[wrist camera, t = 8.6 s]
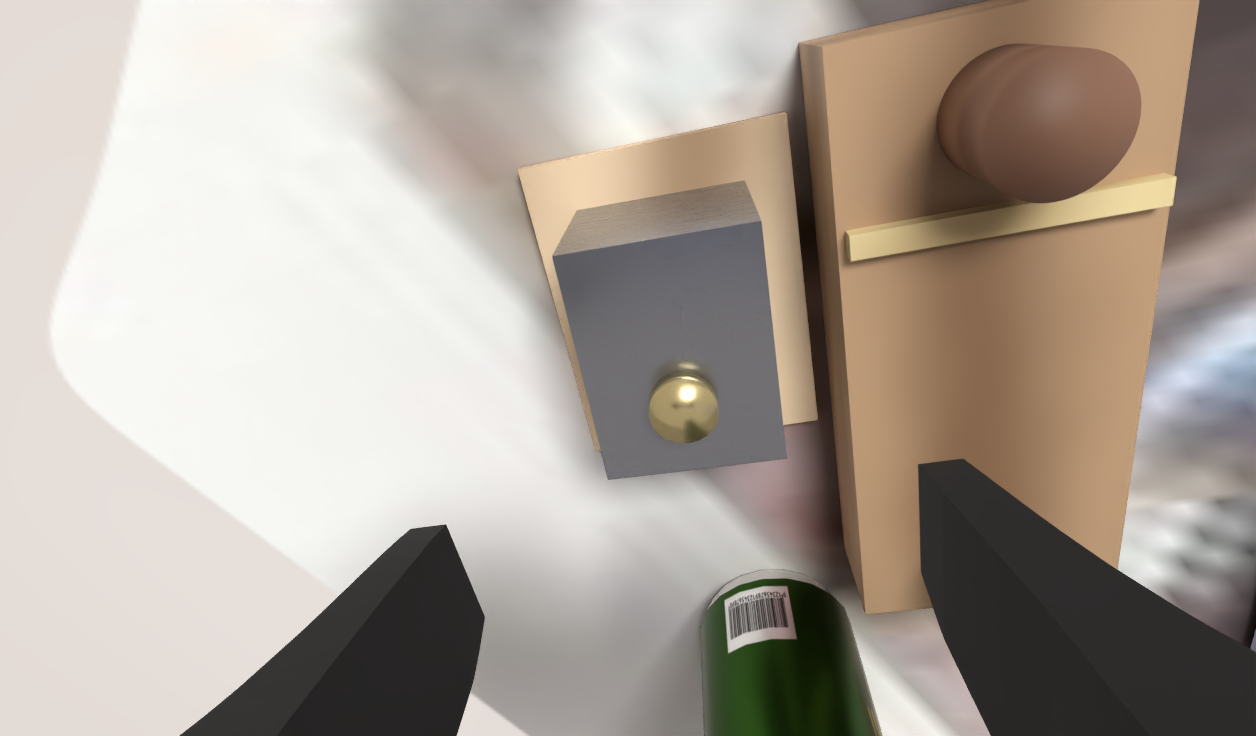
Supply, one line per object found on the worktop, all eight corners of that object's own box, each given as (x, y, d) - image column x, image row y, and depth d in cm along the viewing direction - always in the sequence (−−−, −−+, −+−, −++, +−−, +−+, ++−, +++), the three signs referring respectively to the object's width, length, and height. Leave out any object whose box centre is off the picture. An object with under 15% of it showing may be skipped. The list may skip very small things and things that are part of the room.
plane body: (1112, -28, 15) (1311, -51, 10) (1062, 521, 22) (1167, 659, 17) (798, 42, 16) (848, 52, 12) (844, 546, 23) (887, 682, 18)
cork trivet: (784, 111, 17) (786, 113, 17) (815, 413, 21) (817, 420, 21) (520, 167, 18) (517, 170, 18) (597, 444, 22) (595, 451, 22)
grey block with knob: (744, 180, 18) (764, 228, 13) (767, 381, 20) (790, 473, 16) (577, 210, 18) (546, 264, 14) (620, 401, 21) (606, 494, 17)
